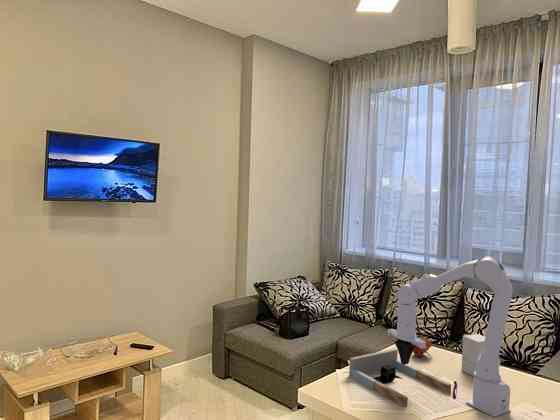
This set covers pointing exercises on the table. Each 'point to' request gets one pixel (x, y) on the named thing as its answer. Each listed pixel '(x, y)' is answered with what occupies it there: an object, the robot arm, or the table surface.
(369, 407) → the table surface
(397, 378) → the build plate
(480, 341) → the supplement box
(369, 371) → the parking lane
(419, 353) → the pomegranate
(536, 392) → the table surface
